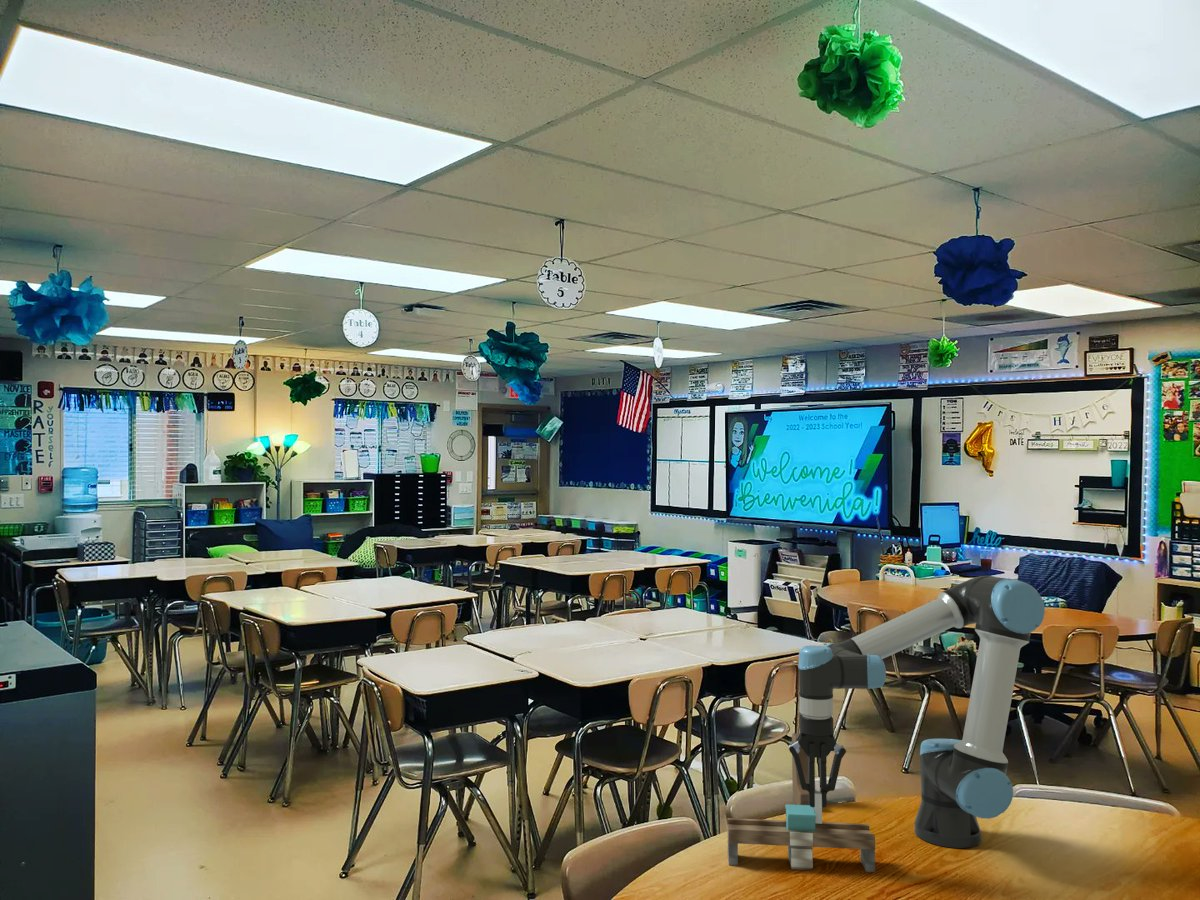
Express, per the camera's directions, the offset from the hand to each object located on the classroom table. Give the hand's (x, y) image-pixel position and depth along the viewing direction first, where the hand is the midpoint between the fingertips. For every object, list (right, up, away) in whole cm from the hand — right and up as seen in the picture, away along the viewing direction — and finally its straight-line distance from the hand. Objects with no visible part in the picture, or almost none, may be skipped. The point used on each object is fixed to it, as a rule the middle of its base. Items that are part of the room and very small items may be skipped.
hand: (817, 821), depth 192 cm
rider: (-4, -2, 0) cm, 4 cm away
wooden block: (+6, -12, +37) cm, 39 cm away
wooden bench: (-4, -9, 0) cm, 10 cm away
